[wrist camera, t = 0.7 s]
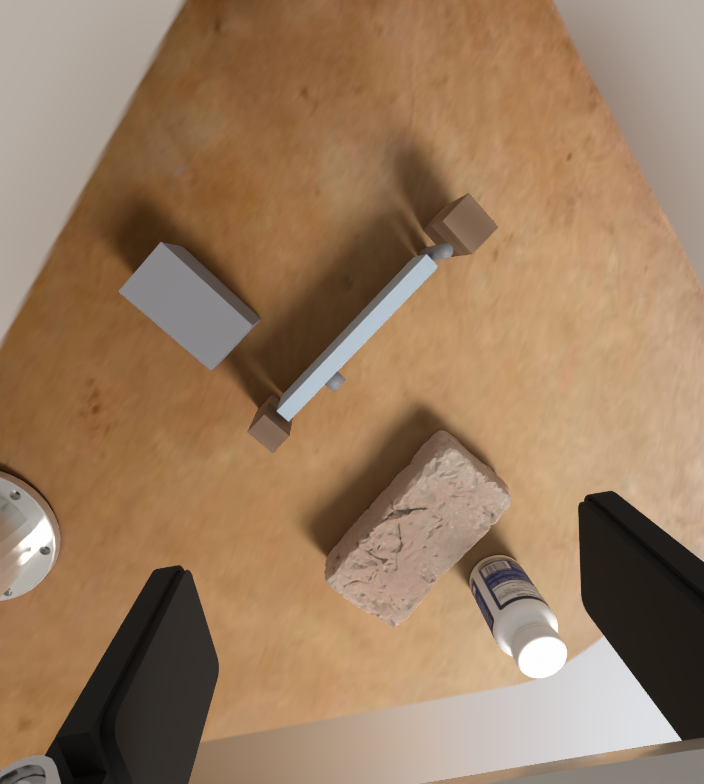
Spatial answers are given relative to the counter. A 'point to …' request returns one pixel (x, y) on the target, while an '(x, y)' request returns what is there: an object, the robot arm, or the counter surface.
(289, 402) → the door
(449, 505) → the brick
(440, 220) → the brown wooden block
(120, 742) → the robot arm
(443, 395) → the counter surface
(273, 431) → the block
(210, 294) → the block
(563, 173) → the counter surface
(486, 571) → the pill bottle
